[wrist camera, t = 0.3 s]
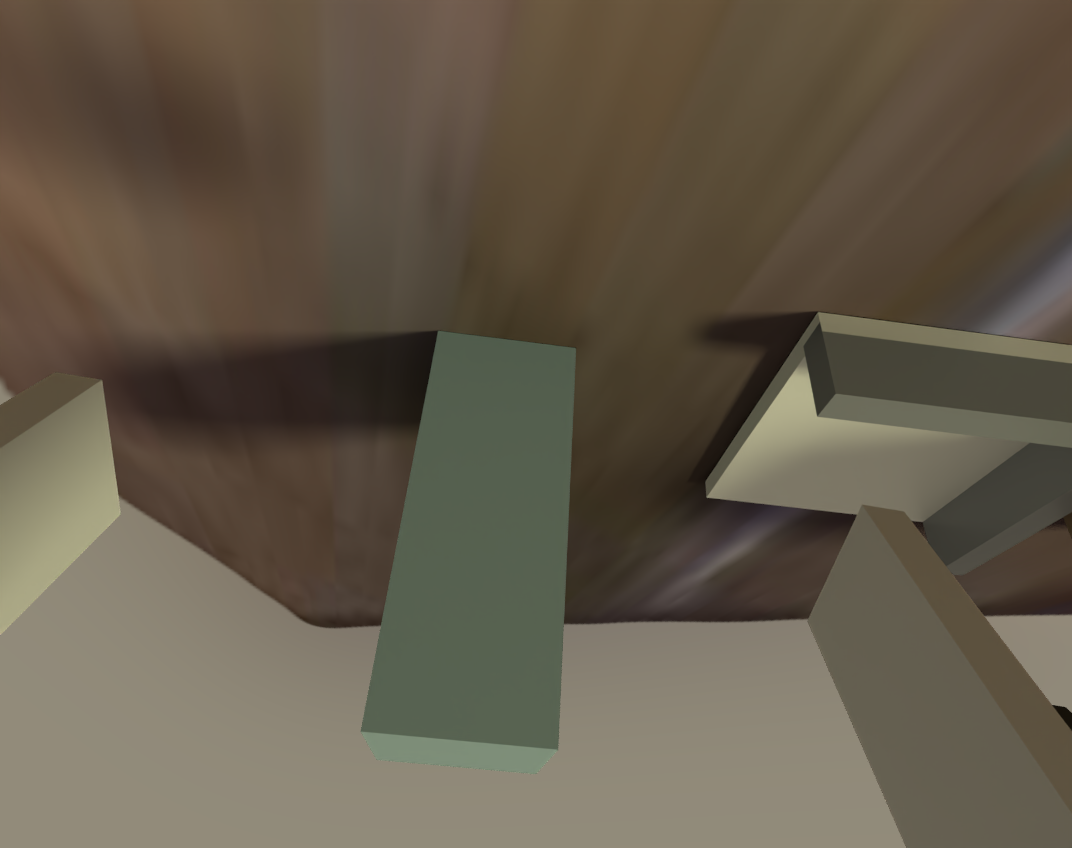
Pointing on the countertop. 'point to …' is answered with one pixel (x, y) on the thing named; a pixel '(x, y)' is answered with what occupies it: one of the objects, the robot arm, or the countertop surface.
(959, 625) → the robot arm
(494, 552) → the teal post
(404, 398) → the countertop surface
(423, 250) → the countertop surface
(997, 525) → the corner jig
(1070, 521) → the wooden block
